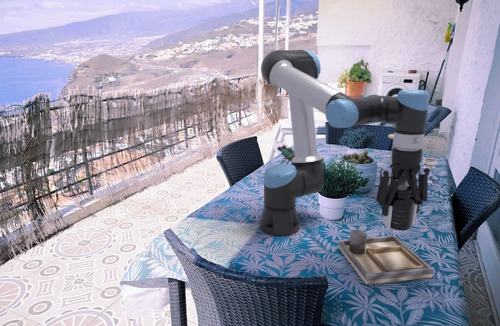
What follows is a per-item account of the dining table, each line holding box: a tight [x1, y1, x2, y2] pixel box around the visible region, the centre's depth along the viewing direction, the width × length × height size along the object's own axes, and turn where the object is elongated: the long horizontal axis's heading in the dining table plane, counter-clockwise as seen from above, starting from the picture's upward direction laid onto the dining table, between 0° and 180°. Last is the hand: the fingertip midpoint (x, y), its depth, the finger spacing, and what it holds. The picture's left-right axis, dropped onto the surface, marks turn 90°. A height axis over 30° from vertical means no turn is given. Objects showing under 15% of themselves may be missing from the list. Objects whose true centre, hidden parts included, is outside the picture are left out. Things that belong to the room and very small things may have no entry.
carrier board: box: [337, 229, 435, 285], centre depth 103 cm, size 20×20×7 cm
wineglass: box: [421, 156, 439, 184], centre depth 170 cm, size 7×7×12 cm
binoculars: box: [276, 144, 295, 165], centre depth 192 cm, size 14×14×15 cm
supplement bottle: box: [390, 185, 415, 231], centre depth 96 cm, size 7×7×12 cm
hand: (398, 224), depth 98 cm, fingers closed on supplement bottle, 7 cm apart
